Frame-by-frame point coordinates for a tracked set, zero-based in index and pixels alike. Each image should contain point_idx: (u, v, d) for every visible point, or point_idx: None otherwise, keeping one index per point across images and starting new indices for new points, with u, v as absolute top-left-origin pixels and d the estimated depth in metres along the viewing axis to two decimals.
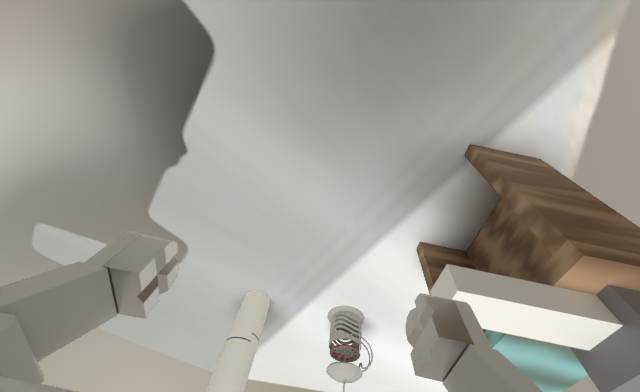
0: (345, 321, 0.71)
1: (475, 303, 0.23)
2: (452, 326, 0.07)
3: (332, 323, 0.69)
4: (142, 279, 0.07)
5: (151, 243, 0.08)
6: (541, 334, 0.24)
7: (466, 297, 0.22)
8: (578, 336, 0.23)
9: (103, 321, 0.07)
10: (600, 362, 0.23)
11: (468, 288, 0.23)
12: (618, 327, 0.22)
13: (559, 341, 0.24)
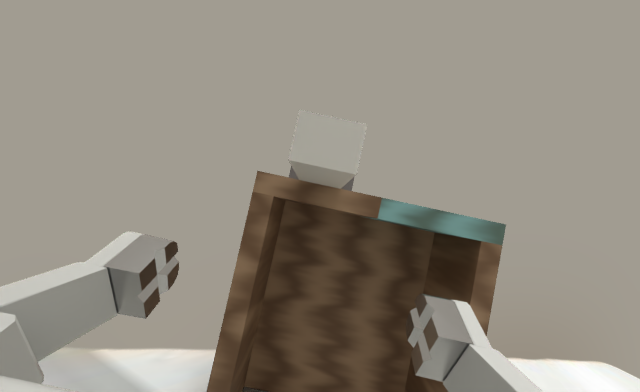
0: None
1: None
2: (452, 326, 0.07)
3: None
4: (142, 279, 0.07)
5: (151, 243, 0.08)
6: None
7: None
8: None
9: (103, 321, 0.07)
10: None
11: None
12: None
13: None
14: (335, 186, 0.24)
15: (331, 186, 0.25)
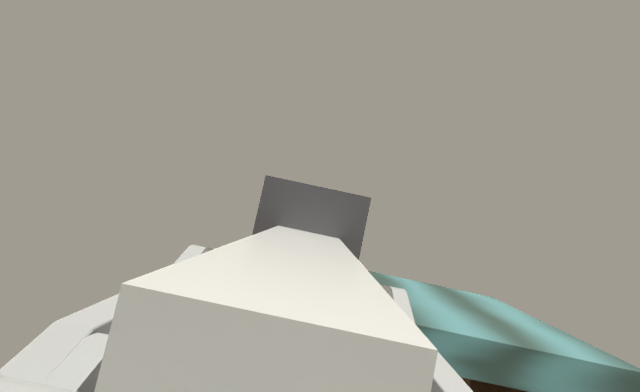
0: None
1: (246, 267, 0.05)
2: None
3: None
4: None
5: None
6: (330, 245, 0.12)
7: (200, 273, 0.04)
8: (315, 236, 0.15)
9: None
10: (339, 220, 0.17)
11: None
12: (282, 226, 0.17)
13: (336, 242, 0.14)
14: None
15: None
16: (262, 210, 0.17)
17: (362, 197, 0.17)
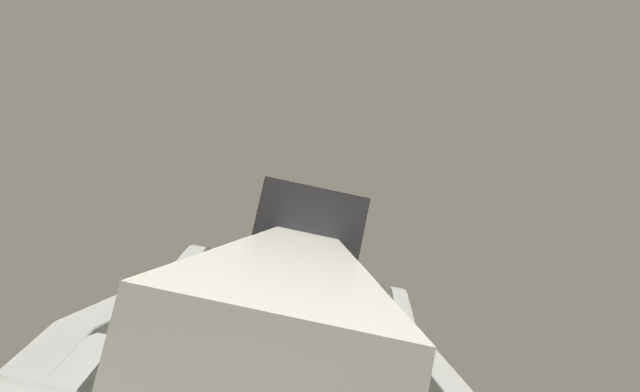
0: None
1: (244, 266, 0.05)
2: None
3: None
4: None
5: None
6: (330, 245, 0.12)
7: (199, 272, 0.04)
8: (314, 237, 0.15)
9: None
10: (338, 221, 0.17)
11: None
12: (282, 227, 0.17)
13: (335, 243, 0.14)
14: None
15: None
16: (261, 211, 0.17)
17: (361, 198, 0.18)
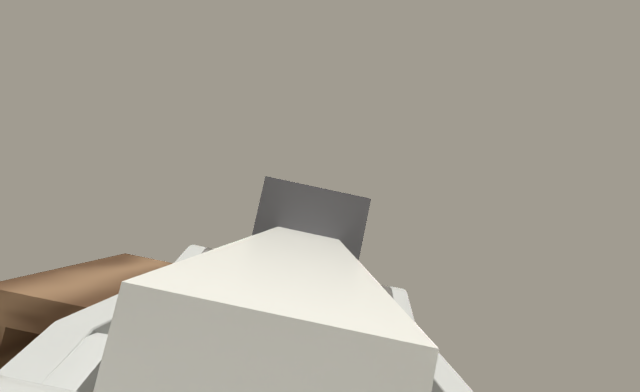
0: None
1: (246, 266, 0.05)
2: None
3: None
4: None
5: None
6: (330, 246, 0.12)
7: (200, 272, 0.04)
8: (314, 237, 0.15)
9: None
10: (339, 221, 0.17)
11: None
12: (282, 227, 0.17)
13: (336, 243, 0.14)
14: None
15: None
16: (262, 211, 0.17)
17: (362, 198, 0.17)
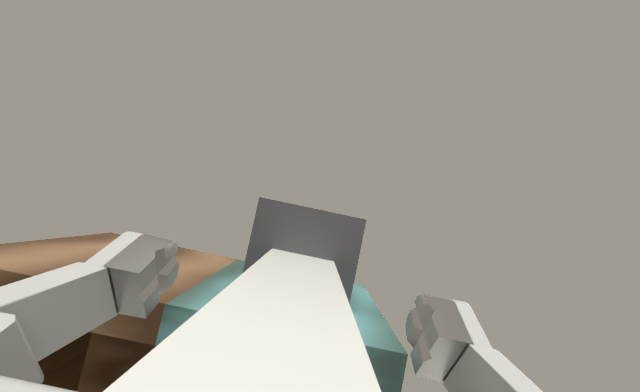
0: None
1: (223, 346, 0.05)
2: (452, 325, 0.07)
3: None
4: (142, 279, 0.07)
5: (151, 243, 0.08)
6: (323, 277, 0.12)
7: (169, 373, 0.04)
8: (308, 262, 0.15)
9: (103, 321, 0.07)
10: (334, 243, 0.17)
11: None
12: (276, 249, 0.17)
13: (330, 270, 0.14)
14: None
15: None
16: (256, 233, 0.17)
17: (357, 219, 0.17)
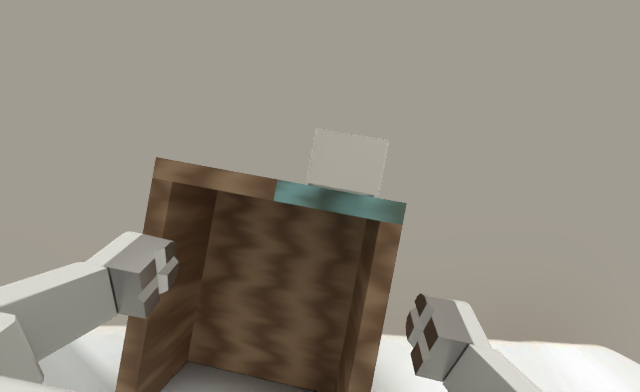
0: None
1: None
2: (452, 326, 0.07)
3: None
4: (142, 279, 0.07)
5: (151, 243, 0.08)
6: None
7: None
8: None
9: (103, 321, 0.07)
10: None
11: None
12: None
13: None
14: None
15: None
16: None
17: None
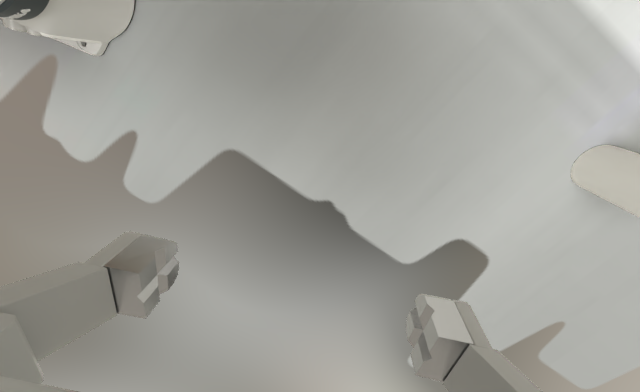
0: None
1: None
2: (452, 325, 0.07)
3: None
4: (142, 279, 0.07)
5: (151, 243, 0.08)
6: None
7: None
8: None
9: (103, 321, 0.07)
10: None
11: None
12: None
13: None
14: None
15: None
16: None
17: None
